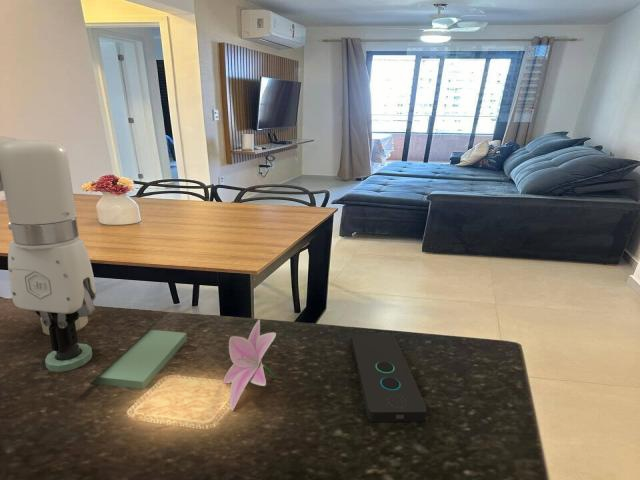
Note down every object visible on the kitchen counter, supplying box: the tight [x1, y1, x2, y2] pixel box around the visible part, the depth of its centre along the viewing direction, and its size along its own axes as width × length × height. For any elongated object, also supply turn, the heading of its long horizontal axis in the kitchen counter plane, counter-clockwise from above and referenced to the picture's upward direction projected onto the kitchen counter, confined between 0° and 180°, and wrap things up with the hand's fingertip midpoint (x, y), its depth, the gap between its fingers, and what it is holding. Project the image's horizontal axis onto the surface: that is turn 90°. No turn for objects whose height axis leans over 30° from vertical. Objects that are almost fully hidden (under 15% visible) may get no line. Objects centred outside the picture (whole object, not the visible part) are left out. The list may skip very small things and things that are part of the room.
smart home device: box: [350, 333, 428, 423], centre depth 60 cm, size 8×2×20 cm
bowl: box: [39, 316, 89, 336], centre depth 69 cm, size 7×7×4 cm
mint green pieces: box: [44, 329, 188, 390], centre depth 63 cm, size 16×14×3 cm
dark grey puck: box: [56, 343, 80, 361], centre depth 59 cm, size 3×3×1 cm
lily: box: [222, 318, 277, 412], centre depth 56 cm, size 12×12×10 cm
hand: (65, 346), depth 58 cm, fingers closed
